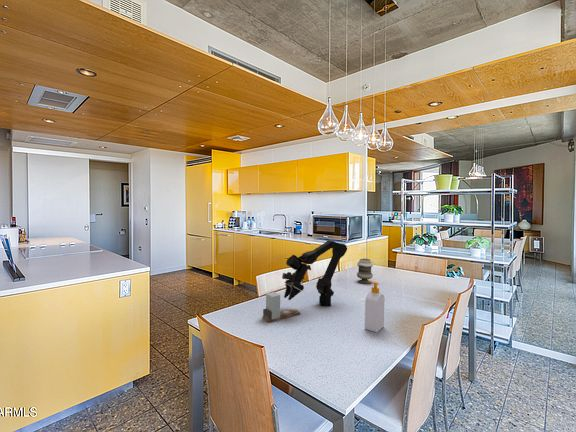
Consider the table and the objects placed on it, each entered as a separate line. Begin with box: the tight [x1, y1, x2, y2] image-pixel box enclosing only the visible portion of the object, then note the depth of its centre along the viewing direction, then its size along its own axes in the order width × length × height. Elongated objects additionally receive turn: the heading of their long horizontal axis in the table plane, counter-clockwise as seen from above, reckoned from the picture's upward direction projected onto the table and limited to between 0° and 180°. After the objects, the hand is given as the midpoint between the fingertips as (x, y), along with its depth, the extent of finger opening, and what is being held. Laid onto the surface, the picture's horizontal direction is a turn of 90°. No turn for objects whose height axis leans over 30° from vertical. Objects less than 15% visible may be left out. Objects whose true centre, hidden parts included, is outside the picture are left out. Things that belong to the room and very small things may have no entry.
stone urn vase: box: [356, 257, 374, 285], centre depth 222 cm, size 12×12×18 cm
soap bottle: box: [364, 280, 386, 333], centre depth 142 cm, size 9×7×23 cm
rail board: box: [262, 307, 302, 323], centre depth 155 cm, size 20×7×5 cm, turn 126°
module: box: [265, 291, 281, 320], centre depth 151 cm, size 5×6×12 cm
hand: (286, 298), depth 158 cm, fingers open, 9 cm apart
